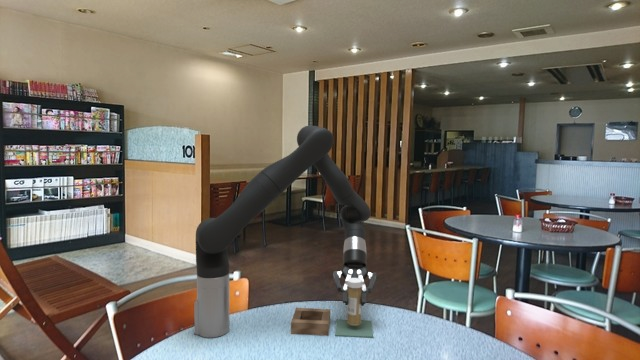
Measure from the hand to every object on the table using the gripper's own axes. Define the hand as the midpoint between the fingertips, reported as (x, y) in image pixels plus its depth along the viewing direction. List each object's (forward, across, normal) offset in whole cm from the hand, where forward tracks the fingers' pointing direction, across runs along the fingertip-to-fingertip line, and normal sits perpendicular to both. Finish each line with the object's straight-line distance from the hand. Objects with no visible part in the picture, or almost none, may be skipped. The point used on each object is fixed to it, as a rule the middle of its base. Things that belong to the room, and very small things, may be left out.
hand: (354, 304), depth 116 cm
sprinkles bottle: (+3, 0, +6) cm, 7 cm away
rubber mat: (+5, 0, +7) cm, 8 cm away
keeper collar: (+5, -13, +7) cm, 15 cm away
